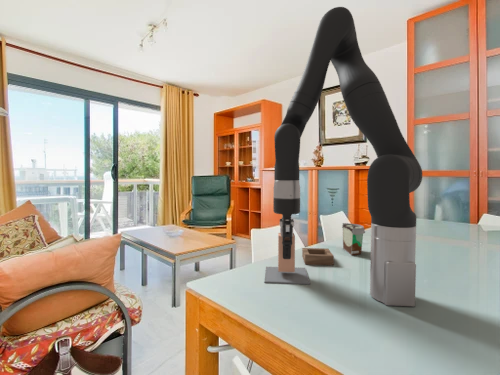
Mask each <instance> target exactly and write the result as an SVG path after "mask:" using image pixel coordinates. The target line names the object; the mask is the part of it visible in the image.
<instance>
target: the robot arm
mask: <svg viewBox="0 0 500 375" xmlns="http://www.w3.org/2000/svg"><path fill="white" fill-rule="evenodd" d="M357 37H358V36H357V30H356V25H355V20H354V18H353V15H352V12H351V11H350V10H349V9H348V8H347V7H344V6H337V7H333V8H331V9H330V10H328V11H327V12H326V13H324V15H323V16H322V17H321V19H320V20H319V23H318V26H317V28H316V32H315V36H314V39H313V43H312V45H311V49H310V52H309V55H308V58H307V62H306V64H305V67H304V69H303V72H302V75H301V77H300V80H299V82H298V84H297V86H296V89H295V91H294V93H293V96H292V97H291V99H290V101H289V103H288V107H287V109H286V114H285V116H284V118H283V120H282V122H281V124H280V126H279V127H277V129H276V130H275V132H274V136H273V137H274V158H275V159H274V170H273V171H274V173H273V174H274V175H273V176H274V177H273V178H274V182H273V193H272V194H273V197H272V198H273V199H272V200H273V202H272V203H273V204H272V205H273V213H274V214H278V215H282V216H281V218H279V227H280V232H279V233H281V237H282V238H283V242H282V244H283V259H291V245H292V237H293V233H294V226H295V220H294V218H292V215H297V214H300V213H301V184H300V162H299V161H300V152H301V139H302V138H301V137H302V135H303V133H304V131H305V128H306V126H307V124H308V123H309V120H310V119H311V117H312V115H313V113H314V111H315V109H316V107H317V105H318V103H319V101H320V98H321V96H322V93H323V89H324V86H325V83H326V82H325V81H326V77H327V73H328V70H329V66H330V63H331V64H332V66H333V67H334V69H335V72H336V74H337V76H338V82H339V87H340V88H339V89H340V91H341V96H342V99H343V102H344V105H345V107H346V109H347V113H348V115H349V116H350V118H351V120H352V122H353V124H355V127H357V128H358V129H359V131H360V132H361V133H362V135H363V136H364V137H365V138H366V139H367V141H368V142H369V143H370V145H371V146H372V148H373V150H374V152H375V155H376V156H377V157H376V158H375V159H374V160H373V161H372V162H371V163H370V166H369V167H368V171H367V178H366V183H367V184H366V188H367V191H366V192H367V209H368V212H369V215H370V218H371V221H370V222H371V224H370V225H371V227H370V264H369V265H370V269H369V270H370V271H369V272H370V275H369V276H370V278H369V282H370V283H369V290H370V291H369V295H370V297H372V298H373V299H375V300H376V301H378V302H381V303H383V304H384V305H385V306H397V307H416V283H417V282H416V280H417V279H416V278H417V276H416V275H417V264H416V252H417V251H416V247H417V246H416V245H417V243H416V241H417V214H416V213H415V212H414V211H413V210H412V207H411V200H410V193H413V192H416V190H417V189H418V188H419V187H420V186H421V184H422V181H423V169H422V166H421V164H420V163H419V161H418V159H417V158H416V155H415V154H414V152H413V151H412V149H411V148H410V146H409V144H408V142H407V141H406V139H405V137H404V136H403V134H402V132H401V129H400V127H399V123H398V122H397V119H396V116H395V114H394V112H393V109H392V107H391V105H390V102H389V100H388V98H387V94H386V92H385V90H384V88H383V85H382V84H381V81H380V80H379V78H378V76H377V75H376V73H375V72H374V71H373V70H372V69H371V68H370V66H368V64H367V63H366V62H365V60H364V57H363V55H362V52H361V48H360V46H359V42H358V38H357ZM285 237H290V240H285Z"/></svg>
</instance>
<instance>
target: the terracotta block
mask: <svg viewBox="0 0 500 375" xmlns="http://www.w3.org/2000/svg"><path fill="white" fill-rule="evenodd" d="M277 234H278V235H277V238H278V246H277V247H278V250H277V251H278V253H277V258H278V259H277V267H278V272H295V267H296V266H295V265H296V263H295V262H296V259H295V258H296V236H295V233H294V232H293V237H292V245H291V259H283V244H282V242H283V238H282V237H281V233H280V232H278V233H277ZM285 240H290V237H285Z"/></svg>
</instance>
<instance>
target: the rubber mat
mask: <svg viewBox="0 0 500 375" xmlns="http://www.w3.org/2000/svg"><path fill="white" fill-rule="evenodd" d="M264 284H287V285H288V284H290V285H311V282H310V279H309V276H308V273H307V269H306V267H296V266H295V272H278V266H265V273H264Z"/></svg>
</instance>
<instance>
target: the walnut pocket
mask: <svg viewBox="0 0 500 375" xmlns="http://www.w3.org/2000/svg"><path fill="white" fill-rule="evenodd" d="M301 251H302V253H301V254H302V255H301V257H302V260H303V262H304V265H308V266H309V265H310V266H311V265H314V266H335V265H334V260H335V257H334V256H335V255H334V254H333V253H332V252H331V251H330V249H329V248H319V247H318V248H316V247H314V248H313V247H302V248H301Z"/></svg>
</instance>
